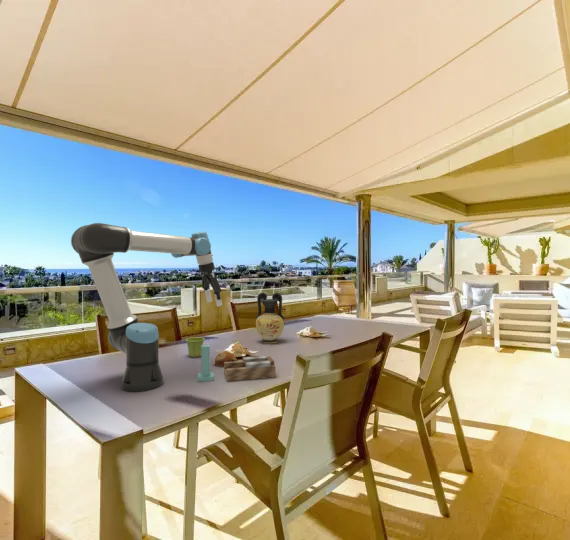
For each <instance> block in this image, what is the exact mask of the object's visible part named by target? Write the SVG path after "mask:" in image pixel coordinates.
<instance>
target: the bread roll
mask: <svg viewBox="0 0 570 540" xmlns="http://www.w3.org/2000/svg"><path fill="white" fill-rule="evenodd" d="M233 361H238V359H237V358H236V356H235V355H234V353H232V352H230V351H227V350H224V351H221V352H219V353H218V354H217V355H216V356H215V358H214V366H216V367H218V366H221V367H220V368H224V362H233Z"/></svg>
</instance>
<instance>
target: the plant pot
mask: <svg viewBox="0 0 570 540" xmlns="http://www.w3.org/2000/svg"><path fill="white" fill-rule="evenodd" d="M185 341H186V344H187V351H188V357H190V358H197V357H202V351H201V345H204V341H205V338H204V337H200V336H199V337H198V336H195V337H188V338H186V339H185Z"/></svg>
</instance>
